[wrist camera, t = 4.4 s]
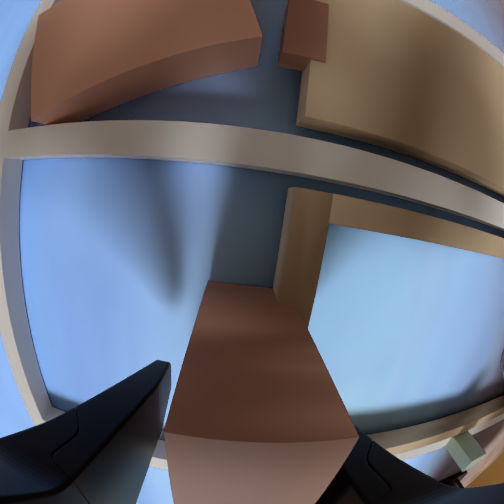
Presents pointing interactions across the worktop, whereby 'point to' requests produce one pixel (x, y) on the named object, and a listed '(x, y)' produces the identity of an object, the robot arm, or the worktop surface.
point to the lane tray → (207, 152)
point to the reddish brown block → (133, 51)
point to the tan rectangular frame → (287, 370)
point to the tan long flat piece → (397, 84)
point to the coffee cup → (502, 364)
